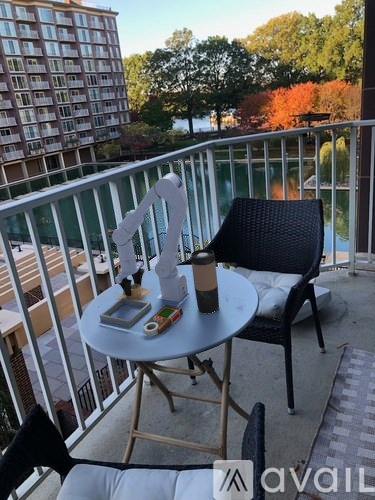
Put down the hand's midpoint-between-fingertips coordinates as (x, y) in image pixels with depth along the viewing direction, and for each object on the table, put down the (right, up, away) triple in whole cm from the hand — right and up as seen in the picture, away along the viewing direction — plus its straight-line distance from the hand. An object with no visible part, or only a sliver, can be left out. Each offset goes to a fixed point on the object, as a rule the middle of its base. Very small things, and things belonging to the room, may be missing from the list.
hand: (133, 291), depth 138 cm
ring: (0, -1, 0) cm, 1 cm away
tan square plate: (0, -2, +1) cm, 2 cm away
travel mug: (+27, -4, -14) cm, 31 cm away
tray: (0, -7, -12) cm, 14 cm away
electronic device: (+12, -8, -19) cm, 24 cm away
